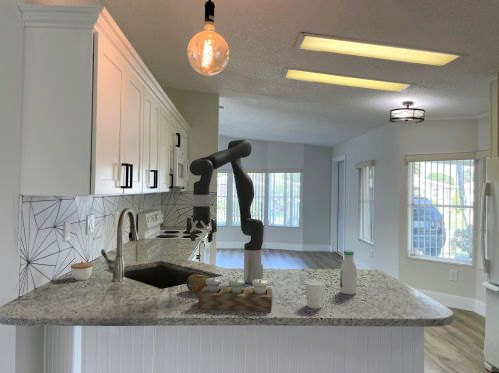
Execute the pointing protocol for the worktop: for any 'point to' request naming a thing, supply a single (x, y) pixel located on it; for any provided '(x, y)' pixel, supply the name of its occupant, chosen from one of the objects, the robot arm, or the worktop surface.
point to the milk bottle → (348, 274)
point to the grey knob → (213, 285)
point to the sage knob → (236, 285)
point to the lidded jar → (81, 270)
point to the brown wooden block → (235, 300)
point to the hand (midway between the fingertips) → (201, 241)
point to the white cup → (315, 293)
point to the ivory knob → (260, 286)
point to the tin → (196, 283)
